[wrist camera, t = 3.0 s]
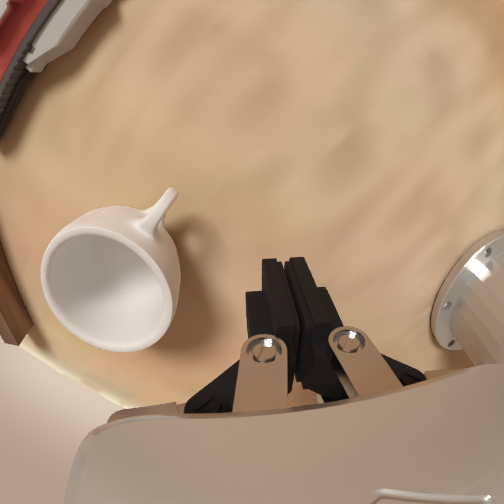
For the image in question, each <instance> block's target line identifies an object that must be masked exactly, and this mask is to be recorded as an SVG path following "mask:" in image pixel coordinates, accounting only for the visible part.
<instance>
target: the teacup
mask: <svg viewBox="0 0 504 504" xmlns="http://www.w3.org/2000/svg"><path fill="white" fill-rule="evenodd" d="M177 196H178V191H177V190H175V189H174V188H172V187H170V188H168V189H167V190H166V192H165V193H164V194H163V196H162V197H161V198H160V200H159V201H158V202H157V203H156V204H155V205H153V206H152V207H150V208H148V209H146V210H139V209H136V208H132V207H128V206H109V207H103V208H99V209H95V210H92V211H90V212H88V213H86V214H84V215H82V216H80V217H79V218H77V219H76V220H74V221H73V222H71V223H70V224H68V225H67V226H66V227H64V228H63V229H62V230H61V231H60V232H59V233H58V234H57V235H56V236H55V237H54V238H53V239H52V241H51V242H50V244H49V245H48V247H47V249H46V251H45V253H44V256H43V259H42V263H41V284H42V289H43V293H44V296H45V298H46V301H47V303H48V305H49V307H50V308H51V310H52V312H53V313H54V315H55V316H56V317H57V319H58V320H59V321H60V322H61V323H62V325H63V326H64V327H65V328H67V329H68V330H69V331H70V332H71V333H72V334H74V335H75V336H76V337H78V338H79V339H81V340H82V341H84V342H86V343H88V344H90V345H92V346H95V347H97V348H100V349H103V350H107V351H113V352H134V351H139V350H142V349H145V348H147V347H149V346H151V345H153V344H154V343H156V342H157V341H158V340H159V339H160V338H161V337H162V336H163V335H164V334H165V333H166V331H167V330H168V328H169V327H170V325H171V323H172V321H173V318H174V315H175V312H176V308H177V303H178V297H179V290H180V282H181V271H180V264H179V258H178V253H177V249H176V246H175V244H174V242H173V240H172V238H171V236H170V235H169V233H168V232H167V231H166V229H165V227H164V218H165V215H166V212H167V210H168V209H169V207H170V206H171V205H172V203H173V202H174V200H175V199H176V198H177Z"/></svg>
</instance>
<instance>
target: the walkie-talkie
mask: <svg viewBox="0 0 504 504" xmlns="http://www.w3.org/2000/svg"><path fill="white" fill-rule="evenodd" d="M112 1H113V0H0V139H1V138H2V136H3V134H4V131H5V129H6V126H7V124H8V122H10V118H11V116H13V111H14V109H16V107H17V106H16V105H17V102H19V100H20V99H19V98H20V96H21V95H22V94H23V90H24V88H25V87H26V86H27V82H28V81H29V80H30V79H32V78H33V76H34V75H35V74H36V72H42V70H43V69H44V67H45V65H46V64H48V63H50V62H51V61H53V60H55V59H56V58H58V57H60V56H62V55H63V54H65V53H67V52H69V51H71V50H72V49H73V48H74V47H75V46H76V44H77V43H78V41H79V40H80V39H81V37H82V36H83V34H84V33H85V32H86V30H87V29H88V28H89V26H90V25H91V24H92V22H93V21H94V20H95V19H96V17H97V16H98V15H99V14H100V12H101V11H102V10H103V9H105V8H107V7H108V6H109V5H110V3H111V2H112Z"/></svg>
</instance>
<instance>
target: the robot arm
mask: <svg viewBox="0 0 504 504" xmlns="http://www.w3.org/2000/svg"><path fill="white" fill-rule="evenodd" d="M246 317H247V331H248V339H247V340H246V341H245V342H244V343H243V346H242V348H241V355H240V359H239V360H238V361H237V362H236V363H235V364H233V365H232V366H231V367H230V368H228V369H227V370H226V371H225V372H223V373H222V374H221V375H220V376H218V377H217V378H216V379H215V380H213V381H212V382H211V383H209V384H208V385H207V386H206V387H204V388H203V389H202V390H200V391H199V392H198V393H196V394H195V395H194V396H192V397H191V398H190V399H189V400H188V401H187V403H184V404H178V405H177V404H176V402H173V403H167V404H160V405H154V406H147V407H140V408H132V409H123V410H120V411H117V412H115V413H114V414H112V415H111V416H110V418H109V419H108V422H107V423H106V424H104V425H101V426H99V427H97V428H95V429H94V430H92V431H91V432H90V433H88V435H87V436H86V437H85V438H84V439H83V441H82V443H81V445H80V446H79V448H78V451H77V453H76V456H75V458H74V461H73V464H72V468H71V472H70V475H69V480H68V484H67V489H66V494H65V500H64V504H504V230H501V231H497V232H494V233H492V234H490V235H488V236H486V237H484V238H482V239H481V240H480V241H478V242H477V243H476V244H475V245H473V246H472V247H471V248H470V249H469V250H468V251H467V252H466V253H465V254H464V255H463V256H462V257H461V259H460V260H459V261H458V262H457V263H456V265H455V266H454V267H453V269H452V270H451V272H450V273H449V275H448V276H447V278H446V279H445V281H444V283H443V285H442V287H441V289H440V291H439V293H438V295H437V298H436V301H435V303H434V307H433V311H432V315H431V328H432V333H433V335H434V336H435V338H436V340H437V341H438V343H439V344H440V345H441V346H442V347H443V348H445V349H448V350H464V351H465V353H466V354H467V356H468V357H469V359H470V360H471V362H472V363H473V365H474V366H473V367H469V368H461V369H448V370H433V371H425V373H424V374H423V373H422V372H420V371H419V370H417V369H415V368H412V367H410V366H408V365H405V364H403V363H401V362H399V361H396V360H394V359H392V358H389V357H387V356H385V355H383V354H380V353H379V351H378V350H377V348H376V347H375V346H374V344H373V343H372V341H371V340H370V339H369V337H368V336H367V335H366V334H365V333H364V332H363V331H361V330H360V329H358V328H354V327H348V326H345V327H344V326H343V324H342V321H341V319H340V317H339V315H338V312H337V310H336V308H335V306H334V304H333V302H332V299H331V297H330V295H329V293H328V291H327V289H326V287H317V286H316V284H315V281H314V279H313V277H312V274H311V272H310V270H309V268H308V265H307V263H306V261H305V258H304V257H293V258H290V259H289V261H285V266H284V268H283V265H282V262H277V260H276V258H274V259H262V291H252V292H246ZM294 373H295V378H296V381H297V382H301V383H302V387H303V389H310V390H312V391H314V392H316V399H317V402H318V404H314V405H307V406H299V407H291V408H287V395H288V394H289V393H290V392H291V391H292V384H293V380H294Z"/></svg>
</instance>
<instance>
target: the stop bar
mask: <svg viewBox="0 0 504 504" xmlns="http://www.w3.org/2000/svg"><path fill="white" fill-rule="evenodd" d="M32 325H33V323H32V321H31V319H30V316H29V314H28V312H27V310H26V308H25V306H24V303H23V301H22V299H21V297H20V294H19V292H18V290H17V287H16V285H15V282H14V280H13V277H12V275H11V272H10V269H9V267H8V264H7V261H6V258H5V255H4V252H3V249H2V246H1V243H0V335H1V337H2V339H3V341H4V342H5V343H8V344H12V345H17V346H19V345H20V343H21V342H22V340H23V339H24V337H25V336H26V334H27V333H28V331H29V330H30V328H31V327H32Z"/></svg>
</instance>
